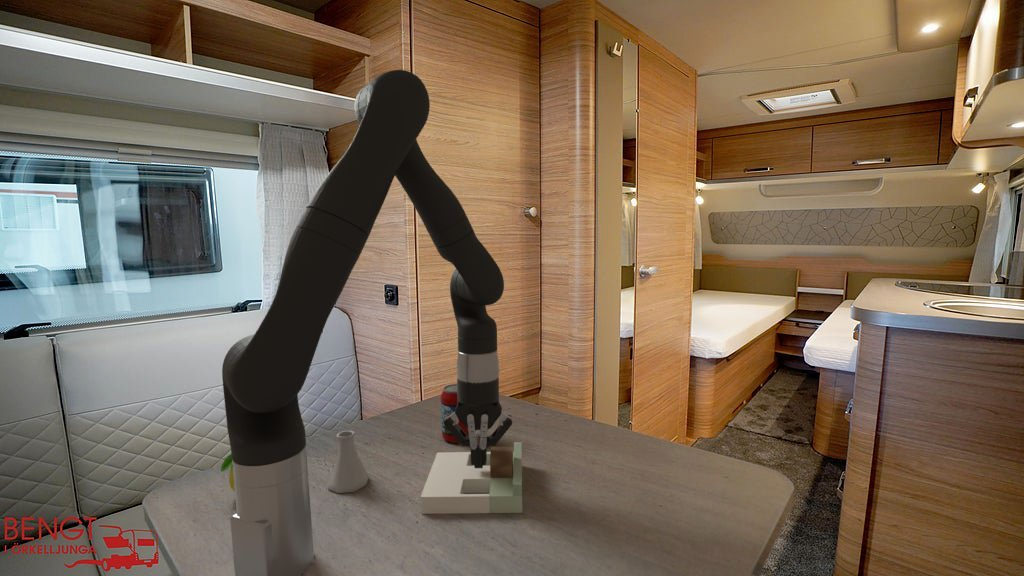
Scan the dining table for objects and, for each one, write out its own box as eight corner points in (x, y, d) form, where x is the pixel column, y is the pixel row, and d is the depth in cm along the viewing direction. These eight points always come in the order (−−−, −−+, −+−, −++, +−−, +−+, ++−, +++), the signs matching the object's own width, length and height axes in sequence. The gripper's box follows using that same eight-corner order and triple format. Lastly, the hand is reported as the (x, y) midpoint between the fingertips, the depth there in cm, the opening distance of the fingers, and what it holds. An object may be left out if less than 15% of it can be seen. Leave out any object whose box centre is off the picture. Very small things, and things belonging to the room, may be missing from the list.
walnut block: (490, 478, 87) (489, 456, 86) (491, 467, 91) (491, 446, 90) (512, 477, 86) (512, 456, 86) (513, 467, 90) (512, 446, 90)
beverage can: (438, 435, 113) (436, 385, 111) (466, 430, 115) (464, 381, 114) (447, 447, 106) (445, 394, 105) (476, 440, 109) (474, 389, 108)
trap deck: (421, 513, 81) (419, 485, 81) (437, 466, 97) (436, 442, 97) (522, 512, 81) (521, 484, 80) (521, 465, 97) (521, 441, 97)
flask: (356, 496, 87) (353, 443, 86) (320, 492, 89) (316, 440, 87) (375, 476, 94) (372, 427, 93) (341, 473, 96) (338, 424, 94)
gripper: (437, 380, 83) (439, 476, 85) (514, 380, 83) (514, 476, 85) (444, 368, 91) (446, 457, 93) (514, 368, 90) (515, 457, 92)
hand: (479, 466), depth 89 cm, fingers closed
